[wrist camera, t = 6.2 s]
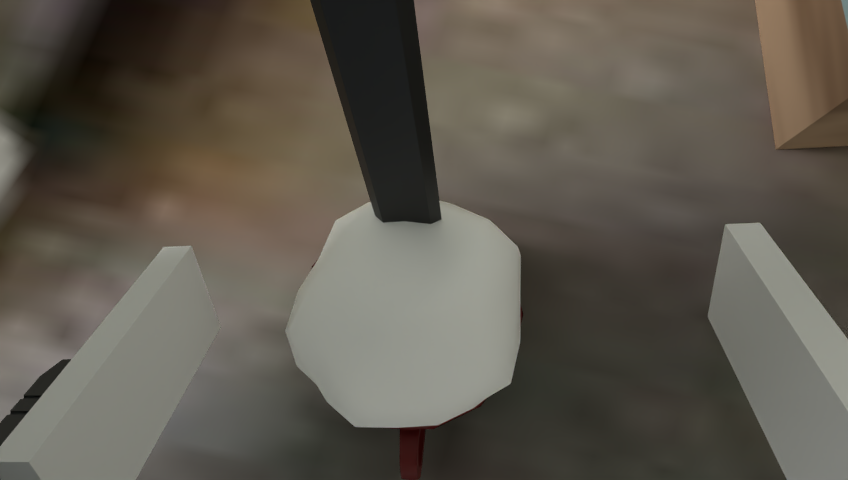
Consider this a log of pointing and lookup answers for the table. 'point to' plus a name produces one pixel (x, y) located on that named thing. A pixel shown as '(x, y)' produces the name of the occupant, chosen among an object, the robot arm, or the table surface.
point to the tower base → (805, 71)
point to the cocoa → (401, 255)
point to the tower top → (845, 9)
